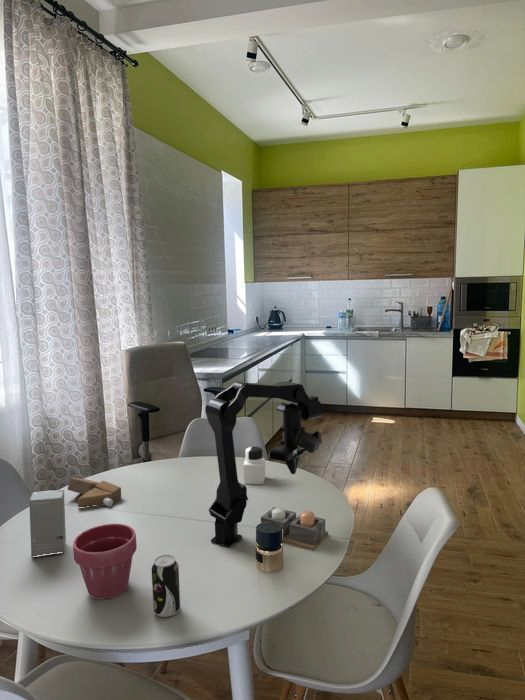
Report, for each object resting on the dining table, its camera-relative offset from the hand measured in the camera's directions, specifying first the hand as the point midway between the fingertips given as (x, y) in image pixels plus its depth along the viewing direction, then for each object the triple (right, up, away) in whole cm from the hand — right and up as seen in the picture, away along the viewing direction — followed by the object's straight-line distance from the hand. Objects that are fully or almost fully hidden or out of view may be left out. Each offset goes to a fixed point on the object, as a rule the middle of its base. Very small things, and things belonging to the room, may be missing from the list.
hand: (293, 473), depth 158 cm
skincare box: (-67, -17, -17) cm, 71 cm away
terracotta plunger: (+3, -12, -14) cm, 19 cm away
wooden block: (-66, -13, +14) cm, 68 cm away
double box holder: (-1, -15, -12) cm, 19 cm away
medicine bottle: (-12, -9, +28) cm, 32 cm away
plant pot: (-46, -19, -35) cm, 61 cm away
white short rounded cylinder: (-5, -13, -9) cm, 17 cm away
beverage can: (-30, -20, -44) cm, 57 cm away
